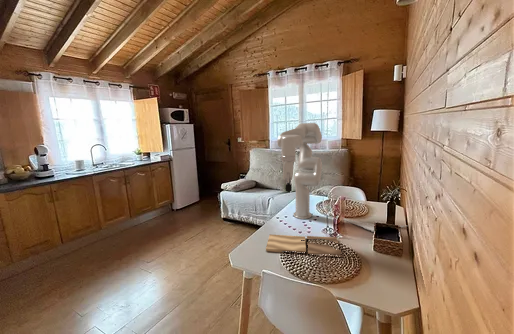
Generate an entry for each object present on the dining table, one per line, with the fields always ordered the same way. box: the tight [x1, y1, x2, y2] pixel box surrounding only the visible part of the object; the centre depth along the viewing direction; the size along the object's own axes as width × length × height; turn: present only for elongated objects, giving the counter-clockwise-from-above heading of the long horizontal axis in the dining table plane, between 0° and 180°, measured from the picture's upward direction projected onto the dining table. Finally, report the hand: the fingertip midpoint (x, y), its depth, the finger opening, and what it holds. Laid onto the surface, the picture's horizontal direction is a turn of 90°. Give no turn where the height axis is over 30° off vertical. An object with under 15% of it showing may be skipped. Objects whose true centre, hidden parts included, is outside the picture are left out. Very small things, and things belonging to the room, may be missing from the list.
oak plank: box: [265, 234, 307, 253], centre depth 128 cm, size 16×20×2 cm
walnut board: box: [306, 235, 342, 255], centre depth 124 cm, size 18×16×2 cm
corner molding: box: [343, 218, 408, 233], centre depth 156 cm, size 30×2×30 cm
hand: (288, 191), depth 134 cm, fingers closed
